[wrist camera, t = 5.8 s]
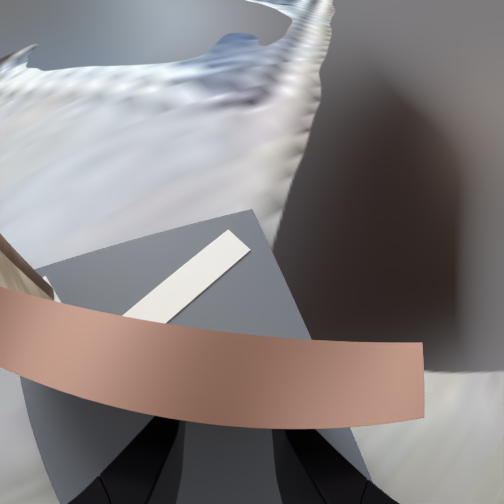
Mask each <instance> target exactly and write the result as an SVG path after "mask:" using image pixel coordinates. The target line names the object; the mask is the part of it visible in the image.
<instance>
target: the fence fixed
mask: <svg viewBox="0 0 504 504" xmlns="http://www.w3.org/2000/svg"><path fill="white" fill-rule="evenodd" d="M0 287H4V288H7V289H11V290H14V291H18V292H21V293H25V294H28V295H32V296H36V297H40V298H44V299H48V300H52V301H53V300H54V291H53V288H52V287H51V286H50V285H49V284H48V283H47V282H46V281H45V280H44V279H43V278H42V277H41V276H40V275H39V274H38V273H37V272H36V271H35V270H34V269H33V268H32V267H31V266H30V265H29V264H28V263H27V262H26V261H25V260H24V259H23V258H22V257H21V256H20V255H19V254H18V253H17V252H16V251H15V249H14V248H13V247H12V246H11V245H10V244H9V243H8V242H7V241H6V240H5V238H4V237H3V236H2V235H1V234H0Z"/></svg>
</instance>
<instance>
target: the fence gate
mask: <svg viewBox="0 0 504 504" xmlns="http://www.w3.org/2000/svg"><path fill="white" fill-rule="evenodd" d="M423 365H424V364H423V346H422V343H374V342H342V341H322V340H306V339H292V338H280V337H268V336H258V335H248V334H239V333H230V332H221V331H213V330H206V329H198V328H191V327H184V326H178V325H171V324H165V323H159V322H153V321H147V320H141V319H136V318H130V317H125V316H120V315H115V314H110V313H105V312H100V311H95V310H90V309H86V308H81V307H77V306H72V305H68V304H64V303H60V302H56V301H52V300H48V299H44V298H40V297H36V296H32V295H28V294H25V293H21V292H18V291H14V290H11V289H7V288H4V287H0V367H2V368H4V369H6V370H8V371H11V372H13V373H15V374H18V375H20V376H22V377H25V378H27V379H30V380H32V381H35V382H37V383H40V384H43V385H45V386H48V387H51V388H54V389H57V390H60V391H62V392H65V393H68V394H72V395H75V396H78V397H81V398H84V399H88V400H91V401H95V402H98V403H102V404H106V405H110V406H114V407H118V408H122V409H126V410H130V411H135V412H139V413H144V414H149V415H154V416H159V417H165V418H171V419H177V420H183V421H190V422H197V423H205V424H214V425H224V426H235V427H249V428H268V429H325V428H344V427H358V426H369V425H378V424H387V423H394V422H401V421H408V420H414V419H420V418H424V366H423Z"/></svg>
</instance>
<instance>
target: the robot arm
mask: <svg viewBox="0 0 504 504" xmlns="http://www.w3.org/2000/svg"><path fill="white" fill-rule="evenodd" d="M184 439H185V421H183V420H177V419H171V418H165V417H159V416H154V417H153V418H152V419H151V420H150V421H149V422H148V423H147V425H146V426H145V427H144V428H143V429H142V430H141V431H140V432H139V433H138V434H137V435H136V436H135V437H134V439H133V440H132V441H131V442H130V443H129V444H128V445H127V446H126V447H125V448H124V449H123V450H122V451H121V452H120V453H119V454H118V455H117V456H116V458H115V459H114V460H113V461H112V462H111V463H110V464H109V465H108V466H107V467H106V468H105V469H104V470H103V471H102V472H101V473H100V474H99V476H100V477H99V476H97V477H96V478H95V479H94V480H93V481H92V482H91V483H90V484H89V485H88V486H87V487H86V488H85V489H84V490H83V491H82V492H81V493H79V494H78V495H77V496H76V497H75V498H74V499H72V500H71V501H70V502H68V503H67V504H176V501H177V496H178V491H179V486H180V481H181V476H182V468H183V454H184ZM272 439H273V451H274V463H275V473H276V479H277V483H278V488H279V492H280V496H281V500H282V504H399V503H398V502H396V501H395V500H393V499H392V498H391V497H389V496H388V495H387V494H386V493H384V492H383V491H382V490H381V489H379V488H378V487H377V486H376V485H375V484H374V483H372V482H371V481H370V480H367V477H366V476H364V475H363V474H362V473H361V472H360V471H359V470H358V469H357V468H356V467H355V466H353V465H352V464H351V463H350V462H349V461H348V460H347V459H346V458H345V457H344V456H343V455H342V454H341V453H339V452H338V451H337V450H336V449H335V448H334V447H333V446H332V445H331V444H330V443H329V442H328V441H327V440H326V439H325V438H324V437H323V436H322V435H321V434H320V433H319V432H318V431H317V430H316V429H272Z"/></svg>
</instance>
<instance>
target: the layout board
mask: <svg viewBox="0 0 504 504" xmlns="http://www.w3.org/2000/svg"><path fill="white" fill-rule="evenodd" d="M35 271H36V272H37V273H38V274H39V275H40V276H41V277H42V278H43V279H44V280H45V281H46V282H47V283H48V284H49V285H50V286H51V287H52V288H53V291H54V300H53V301H56V302H60V303H64V304H68V305H72V306H77V307H81V308H86V309H90V310H95V311H100V312H105V313H110V314H115V315H120V316H125V317H130V318H136V319H141V320H147V321H153V322H159V323H165V324H171V325H178V326H184V327H191V328H198V329H206V330H213V331H221V332H230V333H239V334H248V335H258V336H268V337H280V338H292V339H306V340H312V339H311V337H310V335H309V333H308V330H307V328H306V326H305V324H304V321H303V319H302V317H301V315H300V312H299V310H298V308H297V306H296V303H295V301H294V299H293V297H292V295H291V292H290V290H289V288H288V286H287V284H286V281H285V279H284V277H283V275H282V273H281V270H280V268H279V266H278V264H277V262H276V259H275V257H274V255H273V253H272V251H271V249H270V246H269V244H268V242H267V240H266V238H265V236H264V233H263V231H262V229H261V227H260V225H259V223H258V220H257V218H256V216H255V214H254V212H253V210H252V209H251V210H246V211H242V212H238V213H234V214H230V215H226V216H222V217H218V218H214V219H210V220H206V221H202V222H198V223H194V224H190V225H186V226H182V227H179V228H175V229H171V230H167V231H164V232H160V233H156V234H152V235H149V236H145V237H142V238H138V239H134V240H131V241H127V242H124V243H120V244H117V245H113V246H110V247H106V248H103V249H100V250H96V251H93V252H89V253H86V254H83V255H80V256H76V257H73V258H70V259H66V260H63V261H60V262H57V263H54V264H51V265H47V266H44V267H41V268H38V269H35ZM20 379H21V384H22V389H23V394H24V398H25V403H26V407H27V411H28V415H29V419H30V422H31V426H32V429H33V433H34V436H35V439H36V443H37V446H38V449H39V452H40V455H41V458H42V460H43V463H44V466H45V469H46V471H47V474H48V476H49V479H50V481H51V484H52V486H53V488H54V491H55V493H56V495H57V498H58V500H59V502H60V504H67V503H68V502H70V501H71V500H72V499H74V498H75V497H76V496H77V495H78V494H79V493H81V492H82V491H83V490H84V489H85V488H86V487H87V486H88V485H89V484H90V483H91V482H92V481H93V480H94V479H95V478H96V477H97V476H99V474H100V473H101V472H102V471H103V470H104V469H105V468H106V467H107V466H108V465H109V464H110V463H111V462H112V461H113V460H114V459H115V458H116V456H117V455H118V454H119V453H120V452H121V451H122V450H123V449H124V448H125V447H126V446H127V445H128V444H129V443H130V442H131V441H132V440H133V439H134V437H135V436H136V435H137V434H138V433H139V432H140V431H141V430H142V429H143V428H144V427H145V426H146V425H147V423H148V422H149V421H150V420H151V419H152V418H153V417H154V415H149V414H144V413H139V412H135V411H130V410H126V409H122V408H118V407H114V406H110V405H106V404H102V403H98V402H95V401H91V400H88V399H84V398H81V397H78V396H75V395H72V394H68V393H65V392H62V391H60V390H57V389H54V388H51V387H48V386H45V385H43V384H40V383H37V382H35V381H32V380H30V379H27V378H25V377H22V376H20ZM316 430H317V431H318V432H319V433H320V434H321V435H322V436H323V437H324V438H325V439H326V440H327V441H328V442H329V443H330V444H331V445H332V446H333V447H334V448H335V449H336V450H337V451H338V452H339V453H341V454H342V455H343V456H344V457H345V458H346V459H347V460H348V461H349V462H350V463H351V464H352V465H353V466H355V467H356V468H357V469H358V470H359V471H360V472H361V473H362V474H363V475H364V476H366V477H367V480H370V481H371V482H372V480H371V477H370V475H369V473H368V470H367V468H366V465H365V463H364V460H363V458H362V456H361V453H360V451H359V448H358V446H357V444H356V441H355V439H354V436H353V434H352V432H351V429H350V427H344V428H325V429H316ZM99 477H100V476H99ZM372 483H373V482H372ZM176 504H282V500H281V496H280V492H279V488H278V483H277V479H276V473H275V463H274V451H273V439H272V429H268V428H249V427H235V426H224V425H214V424H205V423H197V422H190V421H185V439H184V454H183V468H182V476H181V481H180V486H179V491H178V496H177V501H176Z"/></svg>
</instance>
